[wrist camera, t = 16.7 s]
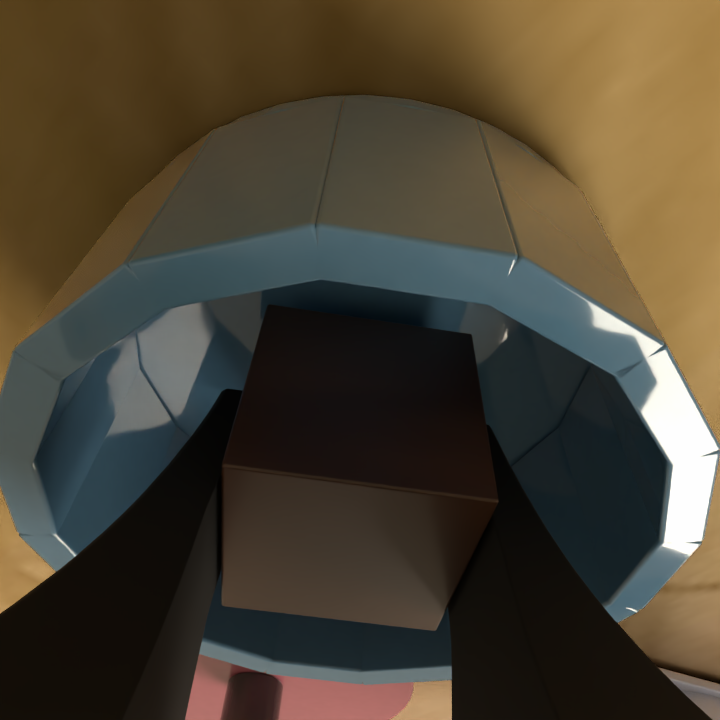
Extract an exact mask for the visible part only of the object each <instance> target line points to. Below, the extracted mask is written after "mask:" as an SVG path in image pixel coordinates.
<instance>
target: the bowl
mask: <svg viewBox="0 0 720 720" xmlns="http://www.w3.org/2000/svg"><path fill="white" fill-rule="evenodd" d="M269 304H271V305H278V306H285V307H292V308H298V309H305V310H312V311H319V312H325V313H332V314H339V315H346V316H352V317H359V318H366V319H373V320H379V321H386V322H393V323H400V324H407V325H413V326H420V327H427V328H434V329H440V330H447V331H454V332H461V333H467V334H471V335H472V338H473V345H474V351H475V357H476V363H477V369H478V376H479V382H480V388H481V394H482V401H483V407H484V413H485V419H486V424H487V425H489V426H490V427H491V429H492V430H493V432H494V434H495V436H496V438H497V440H498V442H499V444H500V446H501V448H502V450H503V452H504V454H505V456H506V458H507V460H508V462H509V464H510V466H511V467H512V469H513V471H514V473H515V475H516V477H517V479H518V481H519V482H520V484H521V486H522V488H523V489H524V491H525V493H526V495H527V496H528V498H529V500H530V501H531V503H532V505H533V507H534V508H535V510H536V512H537V513H538V515H539V517H540V518H541V520H542V522H543V523H544V525H545V526H546V528H547V530H548V531H549V533H550V534H551V536H552V537H553V539H554V540H555V542H556V543H557V545H558V546H559V548H560V549H561V551H562V552H563V554H564V555H565V557H566V558H567V559H568V561H569V562H570V564H571V565H572V567H573V568H574V569H575V571H576V572H577V573H578V575H579V576H580V577H581V579H582V580H583V581H584V583H585V584H586V585H587V587H588V588H589V589H590V591H591V592H592V593H593V594H594V596H595V597H596V598H597V599H598V601H599V602H600V603H601V604H602V606H603V607H604V608H605V609H606V610H607V612H608V613H609V614H610V615H611V616H612V618H613V619H614V620H615V621H616V622H617V623H618V622H620V621H622V620H624V619H626V618H628V617H630V616H632V615H633V614H635V613H637V612H638V611H639V609H643V608H644V607H645V606H646V605H647V604H648V603H649V602H650V601H651V599H652V598H653V597H654V596H655V595H656V594H657V593H658V592H659V591H660V590H661V588H662V587H663V586H664V585H665V584H666V583H667V582H668V581H669V580H670V579H671V577H672V576H673V575H674V574H675V573H676V572H677V571H678V570H679V569H680V568H681V566H682V565H683V564H684V563H685V562H686V561H687V560H688V559H689V558H690V557H691V555H692V554H693V553H694V552H695V551H696V550H697V549H698V548H699V547H700V546H701V544H702V540H704V537H705V532H706V527H707V521H708V516H709V511H710V506H711V500H712V495H713V490H714V484H715V479H716V474H717V469H718V463H719V458H720V443H719V441H718V439H717V437H716V435H715V433H714V431H713V429H712V428H711V426H710V424H709V422H708V420H707V418H706V416H705V414H704V412H703V411H702V409H701V407H700V405H699V403H698V401H697V399H696V397H695V395H694V394H693V392H692V390H691V388H690V386H689V384H688V382H687V380H686V378H685V376H684V375H683V373H682V371H681V369H680V367H679V365H678V363H677V361H676V359H675V358H674V356H673V354H672V352H671V350H670V348H669V346H668V344H667V343H666V341H665V339H664V337H663V335H662V334H661V332H660V330H659V328H658V326H657V325H656V323H655V321H654V319H653V317H652V316H651V314H650V312H649V310H648V309H647V307H646V305H645V303H644V301H643V300H642V298H641V296H640V294H639V292H638V291H637V289H636V287H635V285H634V283H633V282H632V280H631V278H630V276H629V275H628V273H627V271H626V269H625V267H624V266H623V264H622V262H621V260H620V258H619V257H618V255H617V253H616V251H615V249H614V248H613V246H612V244H611V242H610V241H609V239H608V237H607V235H606V233H605V232H604V230H603V228H602V226H601V224H600V223H599V221H598V219H597V217H596V215H595V214H594V212H593V210H592V208H591V207H590V205H589V203H588V201H587V199H586V198H585V196H584V194H583V192H582V191H581V190H580V189H579V187H578V186H576V185H575V184H573V183H572V182H570V181H569V180H567V179H566V178H564V177H563V176H562V175H561V173H560V172H559V171H558V170H557V169H556V168H555V167H553V166H552V165H551V164H550V163H548V162H547V161H546V160H545V159H543V158H542V157H541V156H539V155H538V154H537V153H536V152H534V151H533V150H532V149H531V148H529V147H528V146H527V145H525V144H524V143H522V142H520V141H518V140H517V139H515V138H513V137H512V136H510V135H508V134H506V133H505V132H503V131H501V130H499V129H498V128H496V127H494V126H493V125H490V124H488V123H485V122H483V121H480V120H478V119H475V118H473V117H470V116H468V115H465V114H463V113H460V112H458V111H455V110H453V109H449V108H445V107H441V106H437V105H432V104H428V103H424V102H420V101H416V100H412V99H404V98H394V97H384V96H374V95H346V96H322V97H317V98H311V99H305V100H300V101H294V102H288V103H283V104H279V105H276V106H273V107H270V108H267V109H264V110H261V111H258V112H255V113H252V114H249V115H246V116H243V117H240V118H238V119H236V120H234V121H232V122H230V123H229V124H227V125H225V126H221V127H218V128H217V129H213V130H211V131H210V132H209V133H208V134H207V135H205V136H204V137H203V138H201V139H200V140H198V141H197V142H196V143H194V144H193V145H191V146H190V147H189V148H187V149H186V150H184V151H183V152H182V153H180V154H179V155H177V156H176V157H175V158H174V159H173V160H172V161H171V162H170V163H169V164H168V165H167V166H166V167H165V168H164V169H163V170H162V171H161V172H160V173H159V174H158V175H157V176H156V177H155V178H154V179H153V180H152V181H151V182H149V183H148V184H147V185H146V186H145V187H143V188H142V189H141V190H140V191H139V192H137V193H136V194H135V195H134V196H133V197H132V198H130V200H129V201H128V202H127V203H126V205H125V206H124V207H123V209H122V210H121V211H120V212H119V214H118V215H117V216H116V218H115V219H114V220H113V221H112V223H111V224H110V225H109V227H108V228H107V229H106V230H105V232H104V233H103V234H102V236H101V237H100V238H99V239H98V241H97V242H96V243H95V245H94V246H93V247H92V248H91V250H90V251H89V252H88V254H87V255H86V256H85V257H84V259H83V260H82V261H81V263H80V264H79V265H78V266H77V268H76V269H75V270H74V272H73V273H72V274H71V275H70V277H69V278H68V279H67V281H66V282H65V283H64V284H63V286H62V287H61V288H60V290H59V291H58V292H57V293H56V295H55V296H54V297H53V299H52V300H51V301H50V302H49V304H48V305H47V306H46V308H45V309H44V310H43V311H42V313H41V314H40V315H39V317H38V318H37V319H36V320H35V322H34V323H33V324H32V326H31V327H30V328H29V329H28V331H27V332H26V333H25V335H24V336H23V337H22V338H21V340H20V341H19V342H18V344H17V345H16V346H15V348H14V349H13V351H12V353H11V357H10V360H9V364H8V367H7V371H6V374H5V378H4V381H3V385H2V388H1V391H0V489H1V491H2V494H3V497H4V499H5V502H6V505H7V507H8V510H9V513H10V515H11V518H12V521H13V523H14V526H15V529H16V531H17V532H18V533H19V536H20V537H21V538H22V539H23V540H24V541H25V542H26V543H27V544H28V545H29V546H30V547H31V548H32V549H33V550H34V551H35V552H36V553H37V554H38V555H39V556H40V557H41V558H42V559H43V560H44V561H45V562H46V563H47V564H48V565H49V566H50V567H51V568H52V569H53V570H54V571H56V572H57V571H58V570H59V569H61V568H62V567H63V566H64V565H66V564H67V563H68V562H69V561H70V560H72V559H73V558H74V557H75V556H76V555H78V554H79V553H80V552H81V551H82V550H83V549H84V548H86V547H87V546H88V545H89V544H90V543H91V542H92V541H94V540H95V539H96V538H97V537H98V536H99V535H100V534H102V533H103V532H104V531H105V530H106V529H107V528H108V527H109V526H110V525H111V524H112V523H113V522H114V521H115V520H116V519H118V518H119V517H120V516H121V515H122V514H123V513H124V512H125V511H126V510H127V509H128V508H129V507H130V506H131V505H132V504H133V503H134V502H135V501H136V500H137V499H138V498H139V497H140V496H141V494H142V493H143V492H144V491H145V490H146V489H147V488H148V487H149V486H150V485H151V483H152V482H153V481H154V480H155V479H156V478H157V477H158V476H159V475H160V473H161V472H162V471H163V470H164V469H165V468H166V467H167V466H168V464H169V463H170V462H171V461H172V460H173V458H174V457H175V456H176V455H177V453H178V452H179V451H180V450H181V448H182V447H183V446H184V445H185V443H186V442H187V441H188V440H189V438H190V437H191V436H192V435H193V433H194V432H195V430H196V429H197V428H198V426H199V425H200V424H201V422H202V421H203V419H204V418H205V417H206V415H207V414H208V412H209V411H210V409H211V408H212V406H213V405H214V403H215V401H216V400H217V398H218V396H219V395H220V393H221V391H223V390H225V389H227V388H228V389H235V390H242V391H243V388H244V385H245V381H246V378H247V374H248V371H249V367H250V364H251V360H252V357H253V353H254V350H255V346H256V343H257V339H258V336H259V332H260V329H261V325H262V322H263V318H264V315H265V311H266V308H267V306H268V305H269ZM199 654H201V655H204V656H208V657H211V658H214V659H218V660H221V661H225V662H228V663H231V664H235V665H238V666H242V667H245V668H249V669H252V670H255V671H259V672H262V673H263V672H266V674H272V675H281V676H290V677H299V678H308V679H317V680H326V681H335V682H344V683H353V684H363V685H373V684H391V683H408V682H425V681H443V680H452V664H451V635H450V622H449V613H448V607H447V609H446V611H445V613H444V615H443V617H442V619H441V621H440V623H439V625H438V627H437V630H435V631H431V630H423V629H414V628H406V627H397V626H389V625H380V624H372V623H363V622H354V621H346V620H337V619H329V618H320V617H312V616H303V615H295V614H286V613H278V612H269V611H260V610H252V609H243V608H235V607H226V606H222V604H221V572H220V575H219V578H218V581H217V585H216V588H215V591H214V594H213V598H212V601H211V605H210V608H209V612H208V616H207V620H206V625H205V629H204V634H203V638H202V643H201V647H200V652H199Z"/></svg>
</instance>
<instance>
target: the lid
mask: <svg viewBox="0 0 720 720" xmlns="http://www.w3.org/2000/svg"><path fill="white" fill-rule="evenodd" d="M412 693H413V682H408V683H391V684H373V685H363V684H353V683H344V682H335V681H326V680H317V679H308V678H299V677H290V676H281V675H272V674H266V672H263V673H262V672H259V671H255V670H252V669H249V668H245V667H242V666H238V665H235V664H231V663H228V662H225V661H221V660H218V659H214V658H211V657H208V656H204V655H201V654H199V656H198V661H197V666H196V670H195V675H194V680H193V684H192V689H191V694H190V698H189V703H188V708H187V713H186V717H185V720H390V719H392V718H393V717H395V716H396V715H398V714H399V713H400V712H401V711H402V710H403V709H404V708H405V707H406V705H407V704H408V702H409V701H410V699H411V696H412Z"/></svg>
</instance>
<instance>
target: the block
mask: <svg viewBox="0 0 720 720" xmlns="http://www.w3.org/2000/svg"><path fill="white" fill-rule="evenodd" d="M498 502H499V500H498V494H497V488H496V482H495V475H494V469H493V463H492V457H491V450H490V444H489V438H488V432H487V426H486V419H485V413H484V407H483V401H482V394H481V388H480V382H479V376H478V369H477V363H476V357H475V351H474V345H473V338H472V335H471V334H467V333H461V332H454V331H447V330H440V329H434V328H427V327H420V326H413V325H407V324H400V323H393V322H386V321H379V320H373V319H366V318H359V317H352V316H346V315H339V314H332V313H325V312H319V311H312V310H305V309H298V308H292V307H285V306H278V305H271V304H269V305H268V306H267V308H266V311H265V315H264V318H263V322H262V325H261V329H260V332H259V336H258V339H257V343H256V346H255V350H254V353H253V357H252V360H251V364H250V367H249V371H248V374H247V378H246V381H245V385H244V388H243V392H242V395H241V399H240V402H239V406H238V409H237V413H236V416H235V420H234V423H233V427H232V430H231V434H230V437H229V441H228V444H227V448H226V451H225V455H224V458H223V462H222V503H221V604H222V606H226V607H235V608H243V609H252V610H260V611H269V612H278V613H286V614H295V615H303V616H312V617H320V618H329V619H337V620H346V621H354V622H363V623H372V624H380V625H389V626H397V627H406V628H414V629H423V630H431V631H435V630H437V627H438V625H439V623H440V621H441V619H442V617H443V615H444V613H445V611H446V609H447V607H448V605H449V603H450V601H451V599H452V597H453V595H454V593H455V591H456V588H457V586H458V584H459V582H460V580H461V578H462V576H463V574H464V572H465V570H466V568H467V566H468V564H469V562H470V560H471V558H472V556H473V554H474V552H475V549H476V547H477V545H478V543H479V541H480V539H481V537H482V535H483V533H484V531H485V529H486V527H487V525H488V523H489V521H490V519H491V517H492V515H493V512H494V510H495V508H496V506H497V504H498Z"/></svg>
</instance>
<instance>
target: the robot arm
mask: <svg viewBox="0 0 720 720" xmlns="http://www.w3.org/2000/svg"><path fill="white" fill-rule="evenodd" d="M242 392H243V391H242V390H235V389H228V388H227V389H225V390H223V391H221V393H220V395H219V396H218V398H217V400H216V401H215V403H214V405H213V406H212V408H211V409H210V411H209V412H208V414H207V415H206V417H205V418H204V419H203V421H202V422H201V424H200V425H199V426H198V428H197V429H196V430H195V432H194V433H193V435H192V436H191V437H190V438H189V440H188V441H187V442H186V443H185V445H184V446H183V447H182V448H181V450H180V451H179V452H178V453H177V455H176V456H175V457H174V458H173V460H172V461H171V462H170V463H169V464H168V466H167V467H166V468H165V469H164V470H163V471H162V472H161V473H160V475H159V476H158V477H157V478H156V479H155V480H154V481H153V482H152V483H151V485H150V486H149V487H148V488H147V489H146V490H145V491H144V492H143V493H142V494H141V496H140V497H139V498H138V499H137V500H136V501H135V502H134V503H133V504H132V505H131V506H130V507H129V508H128V509H127V510H126V511H125V512H124V513H123V514H122V515H121V516H120V517H119V518H118V519H116V520H115V521H114V522H113V523H112V524H111V525H110V526H109V527H108V528H107V529H106V530H105V531H104V532H103V533H102V534H100V535H99V536H98V537H97V538H96V539H95V540H94V541H92V542H91V543H90V544H89V545H88V546H87V547H86V548H84V549H83V550H82V551H81V552H80V553H79V554H78V555H76V556H75V557H74V558H73V559H72V560H70V561H69V562H68V563H67V564H66V565H64V566H63V567H62V568H61V569H59V570H58V571H57V572H56V573H54V574H53V575H52V576H50V577H49V578H48V579H46V580H45V581H44V582H42V583H41V584H40V585H38V586H37V587H36V588H34V589H33V590H32V591H30V592H29V593H28V594H26V595H25V596H24V597H23V598H21V599H20V600H19V601H17V602H16V603H15V604H13V605H12V606H10V607H9V608H8V609H6V610H5V611H3V612H2V613H1V614H0V720H185V717H186V713H187V708H188V703H189V698H190V694H191V689H192V684H193V680H194V675H195V670H196V666H197V661H198V656H199V652H200V647H201V643H202V638H203V634H204V629H205V625H206V620H207V616H208V612H209V608H210V605H211V601H212V598H213V594H214V591H215V588H216V585H217V581H218V578H219V575H220V572H221V503H222V462H223V458H224V455H225V451H226V448H227V444H228V441H229V437H230V434H231V430H232V427H233V423H234V420H235V416H236V413H237V409H238V406H239V402H240V399H241V395H242ZM486 426H487V432H488V438H489V444H490V450H491V457H492V463H493V469H494V475H495V482H496V488H497V494H498V500H499V502H498V504H497V506H496V508H495V510H494V512H493V515H492V517H491V519H490V521H489V523H488V525H487V527H486V529H485V531H484V533H483V535H482V537H481V539H480V541H479V543H478V545H477V547H476V549H475V552H474V554H473V556H472V558H471V560H470V562H469V564H468V566H467V568H466V570H465V572H464V574H463V576H462V578H461V580H460V582H459V584H458V586H457V588H456V591H455V593H454V595H453V597H452V599H451V601H450V603H449V605H448V613H449V622H450V635H451V664H452V720H720V684H718V683H714V682H710V681H707V680H703V679H699V678H696V677H692V676H688V675H685V674H681V673H677V672H674V671H670V670H666V669H663V668H659V667H657V666H656V665H655V664H654V663H653V662H652V661H651V660H650V659H649V658H648V657H647V656H646V654H645V653H644V652H643V651H642V650H641V649H640V648H639V647H638V646H637V644H636V643H635V642H634V641H633V640H632V639H631V638H630V637H629V636H628V634H627V633H626V632H625V631H624V630H623V629H622V628H621V627H620V625H619V624H618V623H617V622H616V621H615V620H614V619H613V618H612V616H611V615H610V614H609V613H608V612H607V610H606V609H605V608H604V607H603V606H602V604H601V603H600V602H599V601H598V599H597V598H596V597H595V596H594V594H593V593H592V592H591V591H590V589H589V588H588V587H587V585H586V584H585V583H584V581H583V580H582V579H581V577H580V576H579V575H578V573H577V572H576V571H575V569H574V568H573V567H572V565H571V564H570V562H569V561H568V559H567V558H566V557H565V555H564V554H563V552H562V551H561V549H560V548H559V546H558V545H557V543H556V542H555V540H554V539H553V537H552V536H551V534H550V533H549V531H548V530H547V528H546V526H545V525H544V523H543V522H542V520H541V518H540V517H539V515H538V513H537V512H536V510H535V508H534V507H533V505H532V503H531V501H530V500H529V498H528V496H527V495H526V493H525V491H524V489H523V488H522V486H521V484H520V482H519V481H518V479H517V477H516V475H515V473H514V471H513V469H512V467H511V466H510V464H509V462H508V460H507V458H506V456H505V454H504V452H503V450H502V448H501V446H500V444H499V442H498V440H497V438H496V436H495V434H494V432H493V430H492V429H491V427H490V426H489V425H487V424H486Z"/></svg>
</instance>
